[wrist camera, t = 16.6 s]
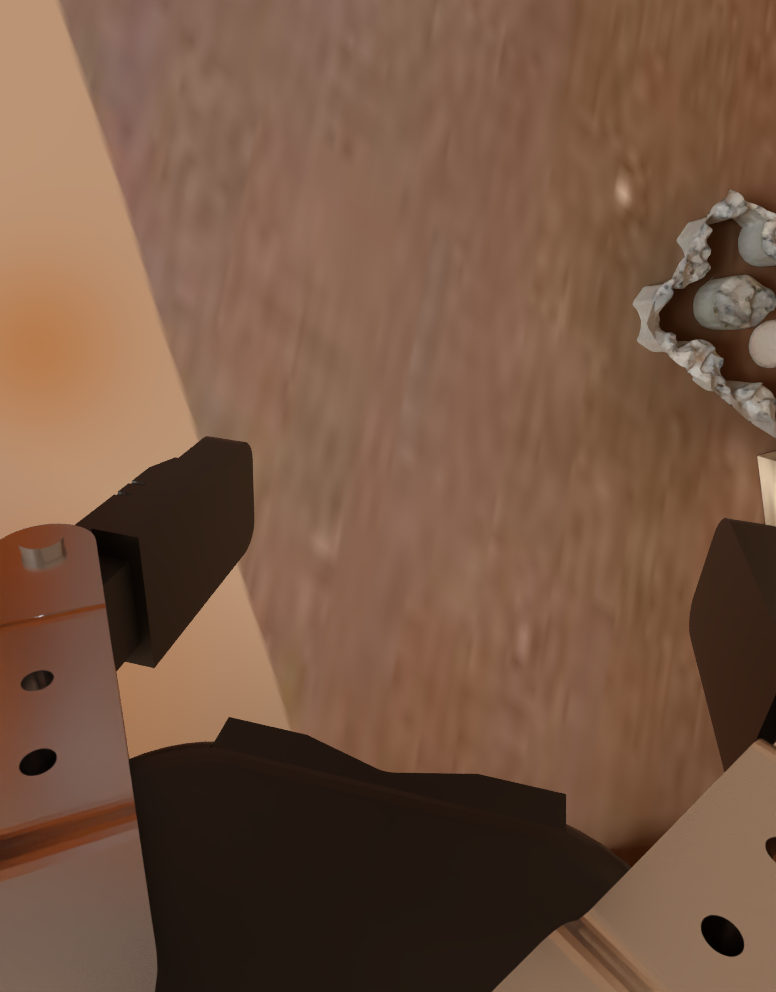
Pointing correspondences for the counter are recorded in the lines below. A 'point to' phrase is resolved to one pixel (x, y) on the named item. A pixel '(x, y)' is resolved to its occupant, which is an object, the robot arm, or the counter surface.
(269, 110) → the counter surface
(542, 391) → the counter surface
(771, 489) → the birch board
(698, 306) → the egg carton
